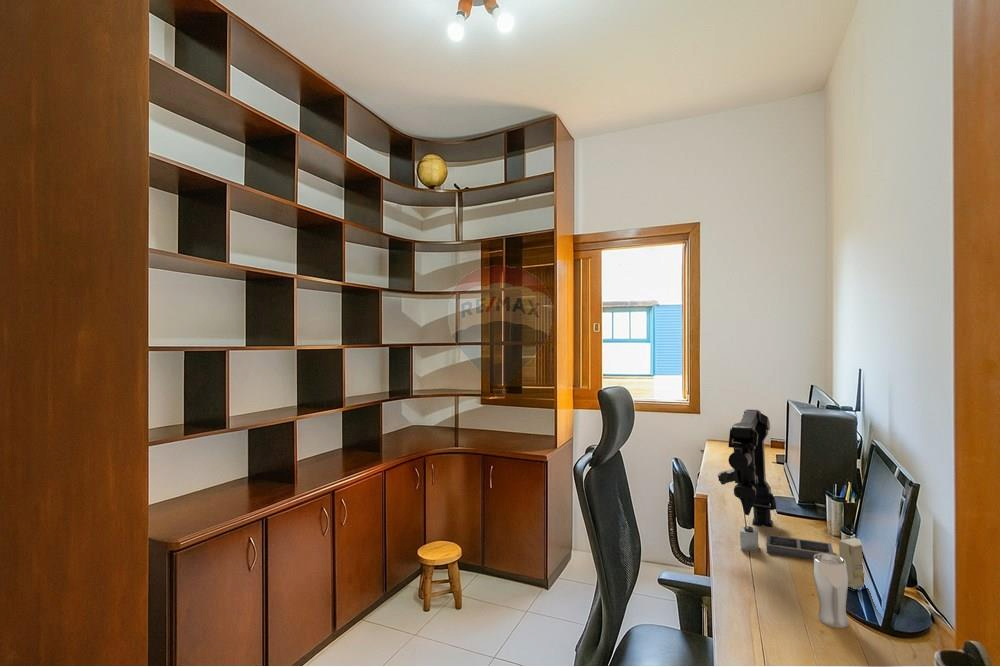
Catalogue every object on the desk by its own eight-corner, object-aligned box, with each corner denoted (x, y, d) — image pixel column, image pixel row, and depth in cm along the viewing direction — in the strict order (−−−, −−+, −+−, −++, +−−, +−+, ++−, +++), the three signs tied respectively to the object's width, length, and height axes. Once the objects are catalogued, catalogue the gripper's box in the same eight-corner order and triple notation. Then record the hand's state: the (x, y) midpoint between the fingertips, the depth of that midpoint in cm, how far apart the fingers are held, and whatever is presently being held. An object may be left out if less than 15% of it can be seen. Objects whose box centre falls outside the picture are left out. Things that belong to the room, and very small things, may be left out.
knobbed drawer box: (741, 544, 162) (740, 523, 162) (758, 546, 159) (757, 526, 160) (740, 549, 158) (739, 529, 158) (758, 552, 155) (756, 531, 155)
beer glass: (836, 612, 120) (832, 552, 121) (858, 628, 113) (854, 564, 114) (809, 614, 120) (805, 553, 120) (829, 630, 113) (825, 566, 113)
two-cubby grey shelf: (767, 541, 163) (767, 534, 163) (831, 551, 154) (831, 543, 154) (766, 552, 155) (766, 545, 155) (834, 563, 145) (833, 555, 145)
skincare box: (855, 592, 129) (852, 546, 129) (840, 584, 133) (837, 540, 134) (873, 587, 131) (870, 542, 131) (857, 580, 135) (854, 536, 135)
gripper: (721, 455, 171) (723, 499, 171) (715, 468, 155) (718, 516, 155) (756, 457, 166) (759, 502, 165) (754, 471, 150) (757, 521, 149)
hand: (747, 510), depth 159 cm, fingers open, 9 cm apart
